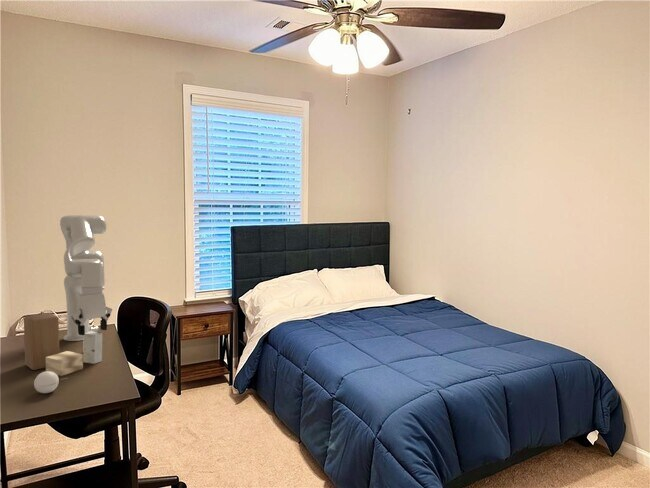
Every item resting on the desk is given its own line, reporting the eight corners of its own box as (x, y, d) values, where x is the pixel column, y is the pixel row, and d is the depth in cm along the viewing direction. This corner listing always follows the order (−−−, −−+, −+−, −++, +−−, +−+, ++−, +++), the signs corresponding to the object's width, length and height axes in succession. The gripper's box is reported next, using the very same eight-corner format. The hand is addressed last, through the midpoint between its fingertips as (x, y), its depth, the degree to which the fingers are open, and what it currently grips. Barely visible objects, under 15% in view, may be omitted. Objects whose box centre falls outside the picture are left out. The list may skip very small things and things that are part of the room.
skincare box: (82, 362, 188) (82, 333, 187) (91, 359, 192) (90, 330, 191) (94, 364, 186) (94, 334, 185) (103, 360, 190) (102, 332, 189)
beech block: (67, 365, 184) (67, 350, 184) (82, 369, 180) (82, 354, 180) (45, 372, 176) (45, 357, 176) (61, 376, 172) (61, 360, 172)
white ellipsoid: (32, 398, 152) (31, 376, 151) (36, 390, 158) (35, 369, 158) (66, 394, 156) (66, 372, 155) (69, 386, 162) (68, 366, 162)
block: (24, 365, 183) (23, 315, 182) (52, 359, 191) (51, 312, 189) (31, 371, 176) (30, 320, 175) (60, 365, 184) (59, 316, 182)
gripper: (105, 287, 196) (106, 327, 197) (65, 293, 181) (66, 335, 182) (116, 288, 192) (117, 329, 193) (77, 294, 177) (78, 338, 178)
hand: (92, 332), depth 187 cm, fingers open, 9 cm apart
